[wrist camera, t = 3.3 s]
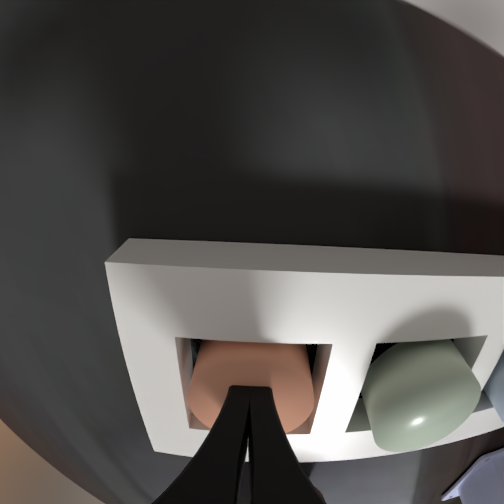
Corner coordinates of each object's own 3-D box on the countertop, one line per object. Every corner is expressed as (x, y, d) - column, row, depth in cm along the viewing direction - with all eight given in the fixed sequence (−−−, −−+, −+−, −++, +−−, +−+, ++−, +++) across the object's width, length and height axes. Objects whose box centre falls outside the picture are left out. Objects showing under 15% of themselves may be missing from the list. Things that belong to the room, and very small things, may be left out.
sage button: (471, 330, 11) (499, 367, 8) (435, 404, 12) (451, 442, 10) (376, 335, 11) (396, 382, 8) (350, 414, 12) (359, 458, 10)
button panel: (579, 260, 10) (600, 276, 8) (514, 398, 14) (527, 417, 12) (129, 238, 11) (104, 262, 9) (163, 421, 15) (154, 451, 13)
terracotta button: (315, 318, 12) (324, 361, 9) (301, 397, 13) (304, 439, 11) (195, 312, 12) (181, 354, 10) (202, 393, 13) (193, 434, 11)
